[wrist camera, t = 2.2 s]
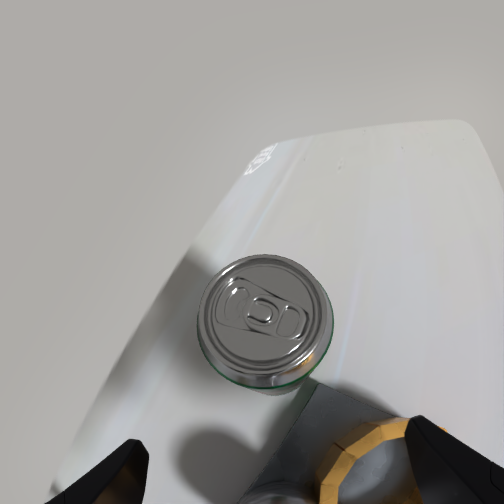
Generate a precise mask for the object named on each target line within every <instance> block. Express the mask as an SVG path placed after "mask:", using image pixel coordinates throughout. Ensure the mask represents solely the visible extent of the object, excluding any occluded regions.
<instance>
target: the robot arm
mask: <svg viewBox="0 0 504 504" xmlns="http://www.w3.org/2000/svg"><path fill="white" fill-rule="evenodd" d="M404 438H405V442H406V446H407V450H408V455H409V459H410V463H411V468H412V472H413V475H414V478H415V481H416V483H417V486H418V489H419V492H420V495H421V498H422V501H423V504H504V468H502V467H500V466H499V465H497V464H496V463H494V462H491V461H490V460H489V459H487V458H486V457H484V456H483V455H481V454H479V453H478V452H476V451H475V450H473V449H472V448H470V447H469V446H467V445H466V444H464V443H462V442H461V441H459V440H458V439H456V438H455V437H453V436H452V435H450V434H449V433H447V432H446V431H444V430H443V429H441V428H440V427H438V426H437V425H435V424H434V423H432V422H431V421H429V420H428V419H427V418H425V417H424V416H422V415H418V416H415V417H412V418H410V419H409V421H408V424H407V427H406V429H405V432H404ZM148 463H149V454H148V451H147V450H146V448H145V447H144V445H143V444H142V442H141V441H140V440H136V439H128V440H127V441H125V442H124V443H123V444H122V445H121V446H119V447H118V448H117V449H116V450H115V451H113V452H112V453H111V454H110V455H109V456H107V457H106V458H105V459H104V460H102V461H101V462H100V463H99V464H98V465H96V466H95V467H94V468H93V469H91V470H90V471H89V472H87V473H86V474H85V475H84V476H82V477H81V478H80V479H78V480H77V481H76V482H75V483H73V484H72V485H71V486H69V487H68V488H67V489H65V491H62V492H61V493H60V494H58V495H57V496H56V497H54V498H53V499H51V500H50V501H48V502H46V503H45V504H142V501H143V497H144V493H145V487H146V479H147V471H148Z"/></svg>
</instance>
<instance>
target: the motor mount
mask: <svg viewBox="0 0 504 504" xmlns="http://www.w3.org/2000/svg"><path fill="white" fill-rule="evenodd" d="M409 419H410V418H399V417H395V416H392V415H390V414H388V413H385V412H383V411H380V410H378V409H376V408H373V407H371V406H369V405H366V404H364V403H362V402H359V401H357V400H355V399H353V398H351V397H348V396H346V395H344V394H342V393H340V392H338V391H335V390H333V389H331V388H329V387H327V386H325V385H323V384H321V383H319V384H318V385H317V387H316V389H315V391H314V392H313V394H312V396H311V398H310V399H309V401H308V403H307V404H306V406H305V408H304V409H303V411H302V413H301V414H300V416H299V417H298V419H297V421H296V422H295V424H294V425H293V427H292V429H291V430H290V432H289V433H288V435H287V436H286V438H285V439H284V441H283V442H282V444H281V445H280V447H279V448H278V450H277V451H276V453H275V454H274V455H273V457H272V458H271V460H270V461H269V463H268V464H267V465H266V467H265V468H264V469H263V471H262V472H261V474H260V475H259V476H258V478H257V479H256V480H255V482H254V483H253V484H252V485H251V487H250V488H249V489H248V491H247V492H246V493H245V494H244V496H243V497H242V498H241V499H240V501H239V502H238V503H237V504H423V501H422V498H421V495H420V492H419V489H418V486H417V483H416V481H415V478H414V475H413V472H412V468H411V463H410V459H409V455H408V450H407V446H406V442H405V438H404V432H405V429H406V427H407V424H408V421H409ZM438 427H439V426H438ZM440 428H441V429H443V430H444V431H446V432H447V430H446V429H445V428H442V427H440ZM447 433H448V432H447Z"/></svg>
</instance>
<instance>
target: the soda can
mask: <svg viewBox="0 0 504 504" xmlns="http://www.w3.org/2000/svg"><path fill="white" fill-rule="evenodd" d="M333 329H334V316H333V309H332V306H331V302H330V300H329V297H328V295H327V293H326V291H325V290H324V288H323V287H322V285H321V284H320V283H319V282H318V281H317V280H316V279H315V277H314V276H313V275H312V274H311V273H310V272H309V271H308V270H307V269H305V268H304V267H303V266H302V265H300V264H298V263H296V262H295V261H293V260H290V259H288V258H285V257H281V256H277V255H268V254H263V255H253V256H248V257H245V258H242V259H239V260H237V261H235V262H233V263H231V264H229V265H228V266H226V267H225V268H223V269H222V270H221V271H220V272H219V273H218V274H216V275H215V277H214V278H213V279H212V280H211V282H210V283H209V285H208V286H207V288H206V290H205V292H204V294H203V296H202V299H201V303H200V307H199V312H198V316H197V335H198V340H199V344H200V347H201V349H202V351H203V354H204V356H205V357H206V359H207V360H208V362H209V363H210V365H211V366H212V367H213V368H214V369H215V370H216V371H217V372H218V373H219V374H220V375H222V376H223V377H224V378H226V379H227V380H229V381H231V382H233V383H235V384H237V385H240V386H242V387H245V388H248V389H251V390H253V391H256V392H259V393H262V394H265V395H271V396H279V395H284V394H287V393H290V392H292V391H294V390H295V389H297V388H298V387H299V386H300V385H301V384H302V383H303V382H304V381H305V380H306V379H307V378H308V376H309V375H310V374H311V373H312V372H313V371H314V369H315V368H316V367H317V366H318V364H319V363H320V362H321V360H322V359H323V357H324V356H325V354H326V353H327V350H328V348H329V346H330V343H331V340H332V336H333Z"/></svg>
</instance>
